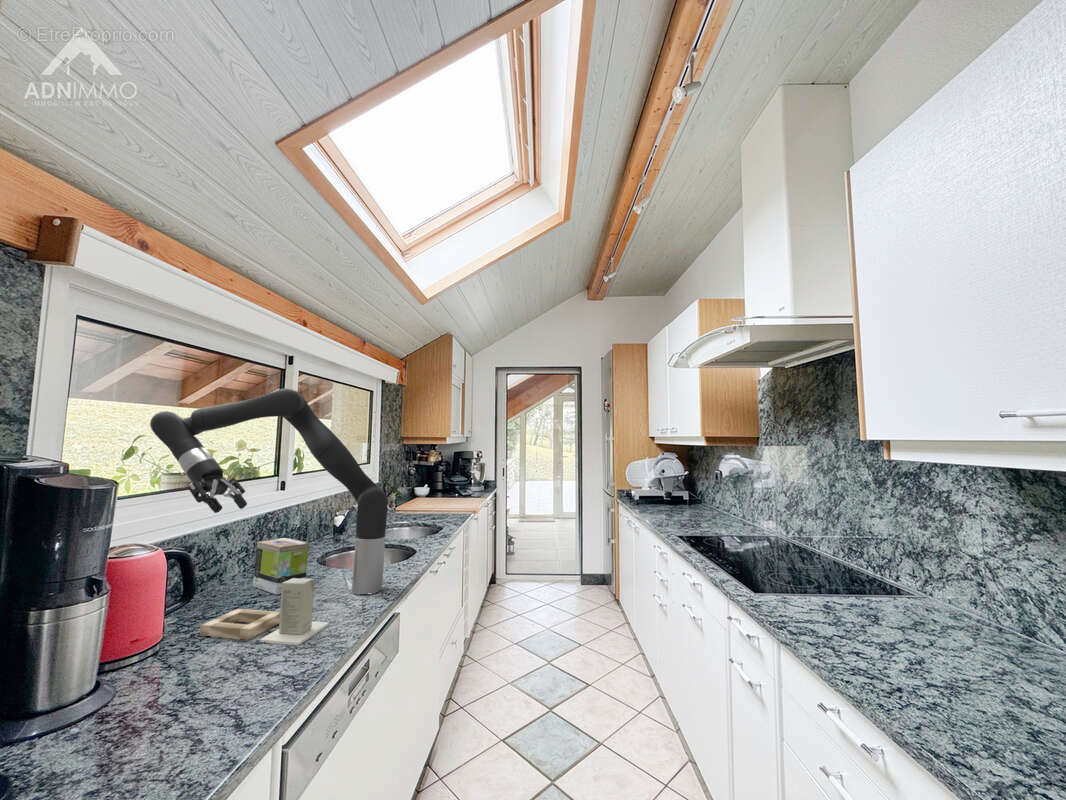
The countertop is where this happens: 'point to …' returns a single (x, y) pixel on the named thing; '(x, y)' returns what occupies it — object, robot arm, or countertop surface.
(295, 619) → the skincare box
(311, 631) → the pad
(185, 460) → the robot arm
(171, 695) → the countertop surface
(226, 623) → the frame
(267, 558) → the tea box
